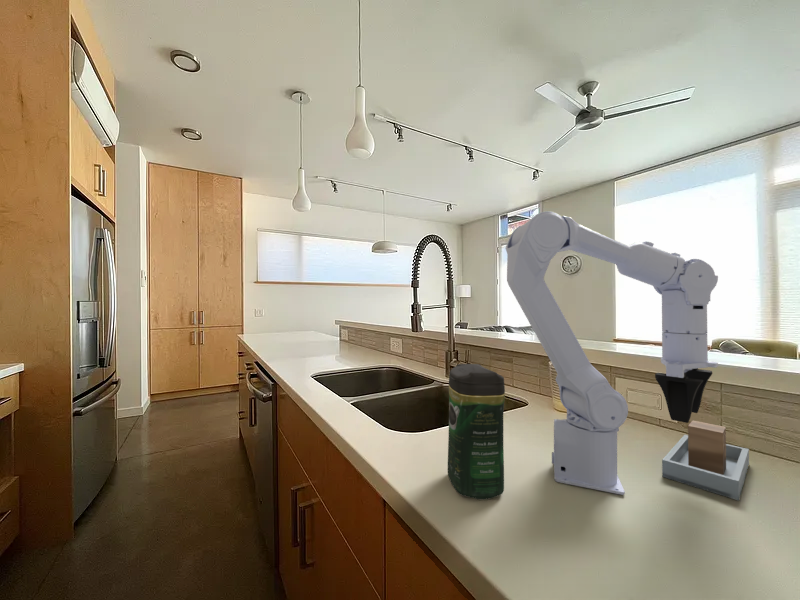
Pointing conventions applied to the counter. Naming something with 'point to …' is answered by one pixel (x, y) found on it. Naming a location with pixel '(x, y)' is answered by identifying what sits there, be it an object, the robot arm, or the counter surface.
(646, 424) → the counter surface
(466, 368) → the coffee jar
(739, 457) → the tray
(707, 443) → the walnut block
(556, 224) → the robot arm
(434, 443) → the counter surface
